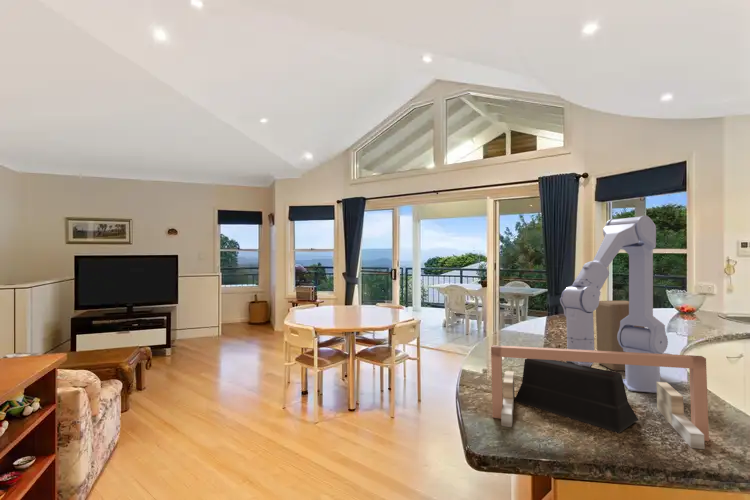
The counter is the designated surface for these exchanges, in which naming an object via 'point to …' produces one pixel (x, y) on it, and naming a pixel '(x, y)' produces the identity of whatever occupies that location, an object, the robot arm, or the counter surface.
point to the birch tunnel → (666, 404)
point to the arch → (629, 358)
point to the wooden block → (610, 328)
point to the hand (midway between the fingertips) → (582, 396)
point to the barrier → (577, 393)
